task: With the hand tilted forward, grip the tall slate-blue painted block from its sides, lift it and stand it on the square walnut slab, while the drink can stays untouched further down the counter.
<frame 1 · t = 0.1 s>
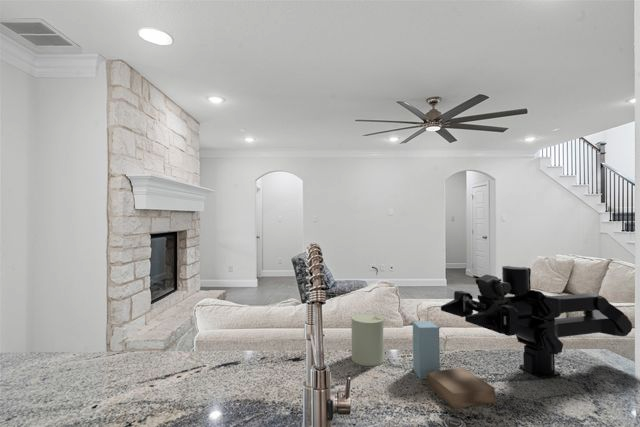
hand: (452, 313, 77), 17 cm above the counter, tool horizontal, fingers open, 9 cm apart
block: (426, 373, 81), on the counter
slab: (459, 393, 72), on the counter
can: (367, 359, 90), on the counter
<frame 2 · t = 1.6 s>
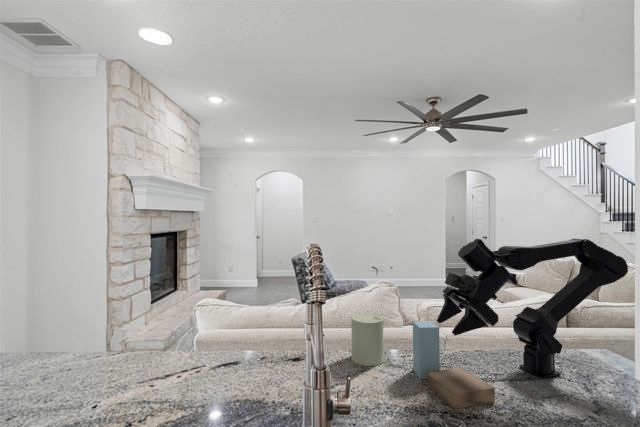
hand: (445, 327, 82), 11 cm above the counter, tool tilted 45°, fingers open, 9 cm apart
nothing on the counter moved.
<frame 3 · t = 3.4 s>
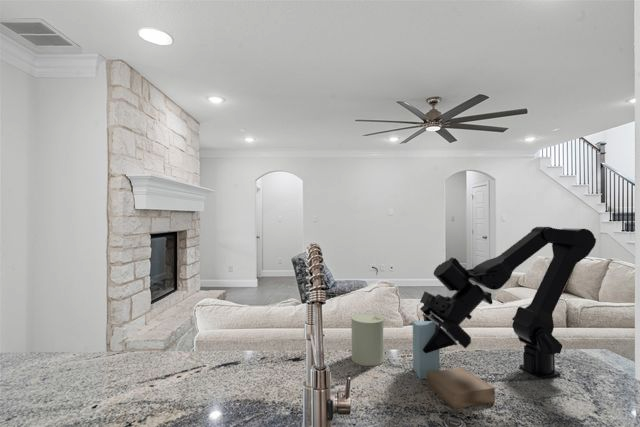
hand: (420, 347, 81), 7 cm above the counter, tool tilted 45°, fingers closed on block, 5 cm apart
block: (426, 373, 81), on the counter, touching gripper
everything else where it was.
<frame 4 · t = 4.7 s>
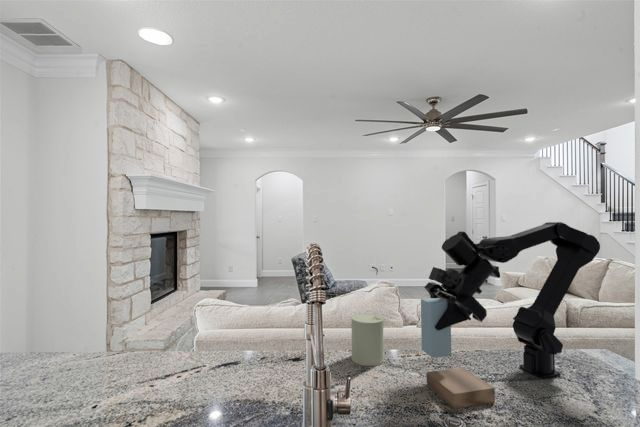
hand: (430, 325, 78), 13 cm above the counter, tool tilted 45°, fingers closed on block, 5 cm apart
block: (436, 352, 78), point 7 cm above the counter, touching gripper
everything else where it was.
when the fingers open (10 cm above the counter, at t = 6.1 s): block stays where it is, resting on slab.
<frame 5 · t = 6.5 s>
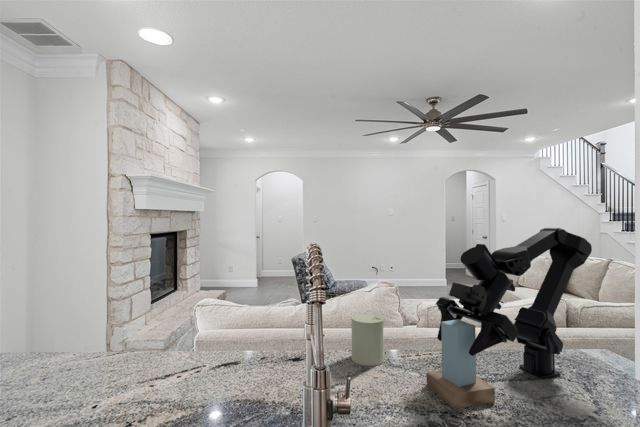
hand: (453, 346, 72), 11 cm above the counter, tool tilted 45°, fingers open, 9 cm apart
block: (458, 379, 72), point 3 cm above the counter, touching slab
everything else where it was.
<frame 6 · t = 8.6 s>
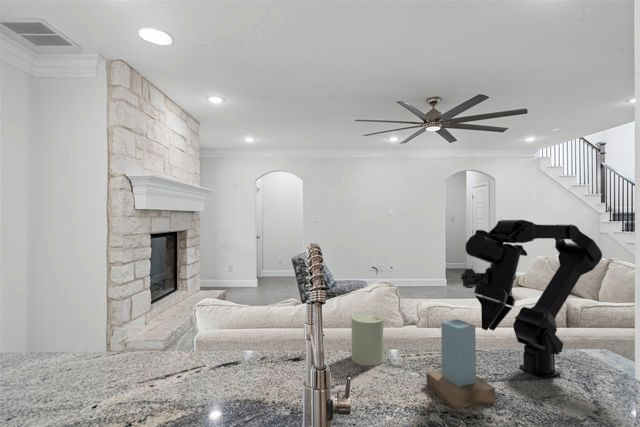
hand: (487, 329, 78), 12 cm above the counter, tool tilted 20°, fingers open, 9 cm apart
nothing on the counter moved.
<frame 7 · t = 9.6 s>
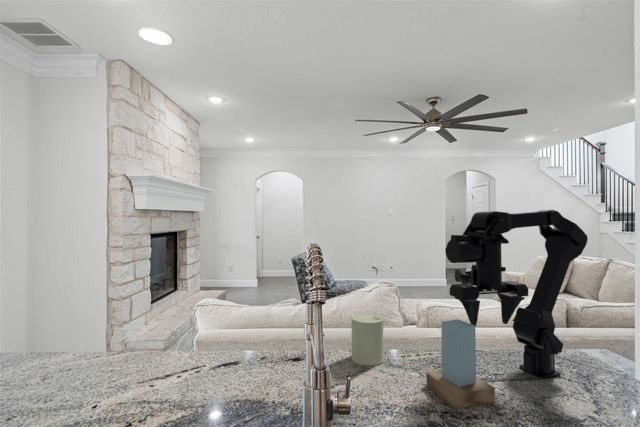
hand: (489, 325, 79), 13 cm above the counter, tool pointing down, fingers open, 9 cm apart
nothing on the counter moved.
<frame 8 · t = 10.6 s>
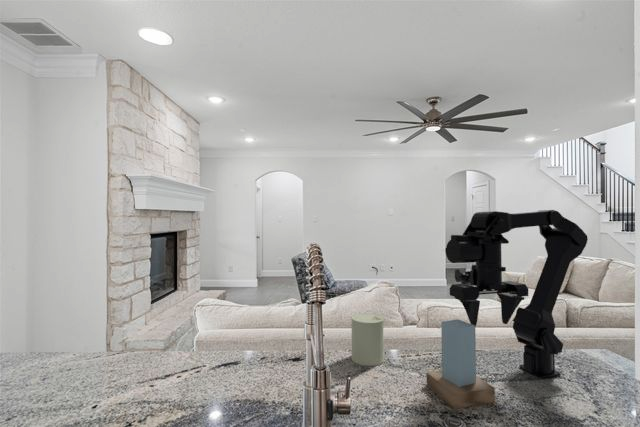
hand: (489, 325, 79), 13 cm above the counter, tool pointing down, fingers open, 9 cm apart
nothing on the counter moved.
at the end: block inside the target area on the slab (0.0 cm from its centre), point 3.0 cm above the slab's base; block tilted 0°; the gripper is holding nothing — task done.
